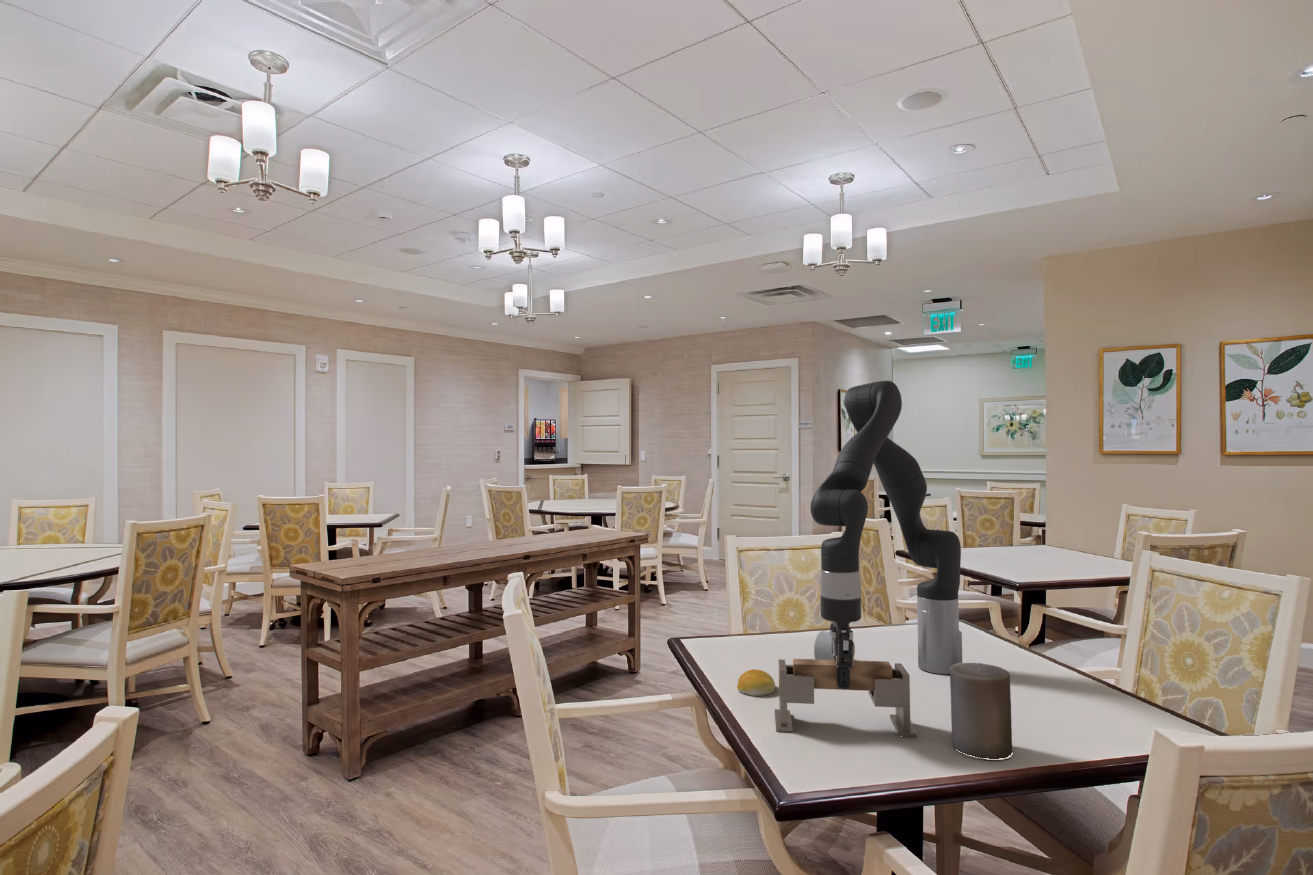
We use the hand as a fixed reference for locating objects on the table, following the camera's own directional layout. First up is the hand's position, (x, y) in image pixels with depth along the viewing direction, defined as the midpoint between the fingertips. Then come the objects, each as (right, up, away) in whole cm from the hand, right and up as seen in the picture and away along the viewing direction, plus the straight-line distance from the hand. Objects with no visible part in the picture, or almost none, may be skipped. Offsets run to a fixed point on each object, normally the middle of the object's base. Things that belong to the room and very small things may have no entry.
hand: (842, 683), depth 130 cm
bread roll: (-14, -9, +20) cm, 26 cm away
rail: (0, 0, 0) cm, 0 cm away
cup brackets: (0, -8, 0) cm, 8 cm away
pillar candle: (+21, -8, -11) cm, 25 cm away
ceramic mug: (+9, -9, +39) cm, 41 cm away
